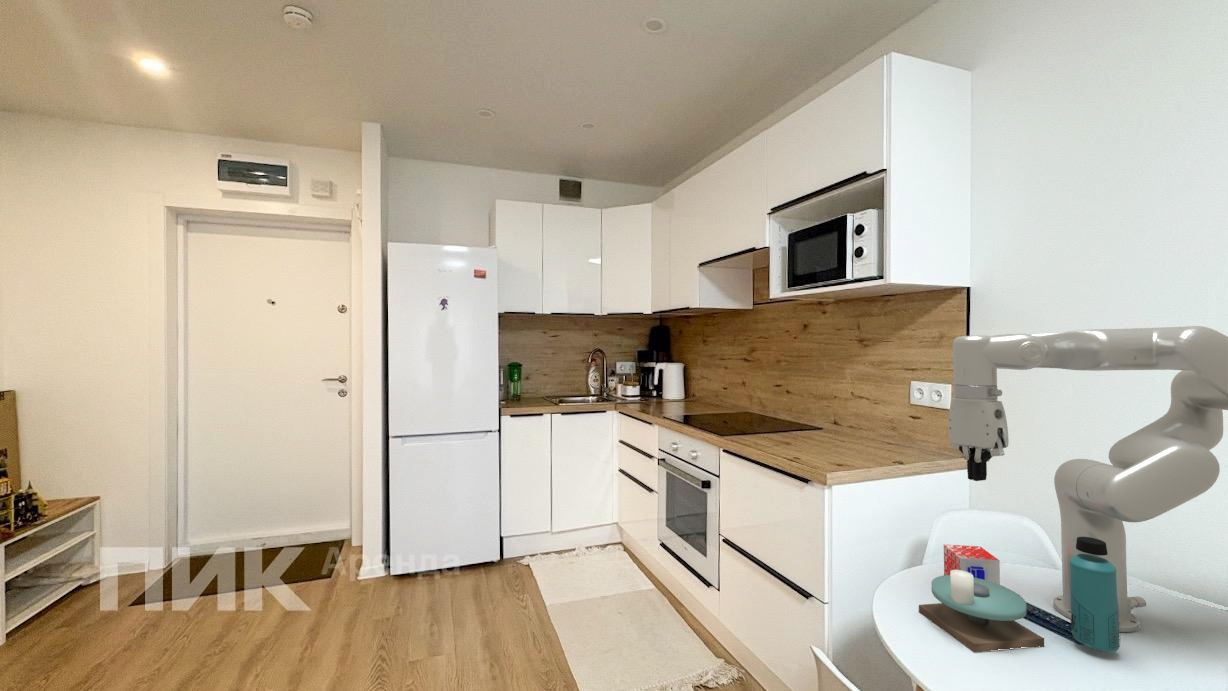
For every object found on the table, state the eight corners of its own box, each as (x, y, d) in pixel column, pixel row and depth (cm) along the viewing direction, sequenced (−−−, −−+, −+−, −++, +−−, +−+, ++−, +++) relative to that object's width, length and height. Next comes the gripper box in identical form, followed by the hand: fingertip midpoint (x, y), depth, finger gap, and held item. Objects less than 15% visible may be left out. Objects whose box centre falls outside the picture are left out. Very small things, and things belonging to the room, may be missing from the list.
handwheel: (934, 608, 94) (933, 574, 94) (929, 576, 107) (928, 546, 107) (1035, 629, 87) (1035, 591, 87) (1016, 592, 100) (1016, 560, 100)
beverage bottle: (1131, 663, 86) (1128, 547, 86) (1086, 658, 87) (1083, 544, 87) (1102, 641, 92) (1099, 533, 92) (1061, 637, 93) (1058, 531, 94)
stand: (980, 607, 105) (979, 582, 105) (1044, 646, 91) (1043, 618, 91) (918, 612, 103) (918, 587, 103) (974, 652, 89) (973, 623, 89)
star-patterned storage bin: (981, 579, 117) (980, 546, 117) (1000, 596, 109) (999, 560, 110) (943, 577, 119) (943, 544, 119) (960, 593, 111) (959, 557, 111)
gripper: (1025, 395, 99) (1028, 487, 99) (955, 390, 113) (957, 470, 113) (997, 397, 97) (1000, 490, 97) (930, 391, 111) (931, 472, 111)
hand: (977, 479), depth 105 cm, fingers closed
